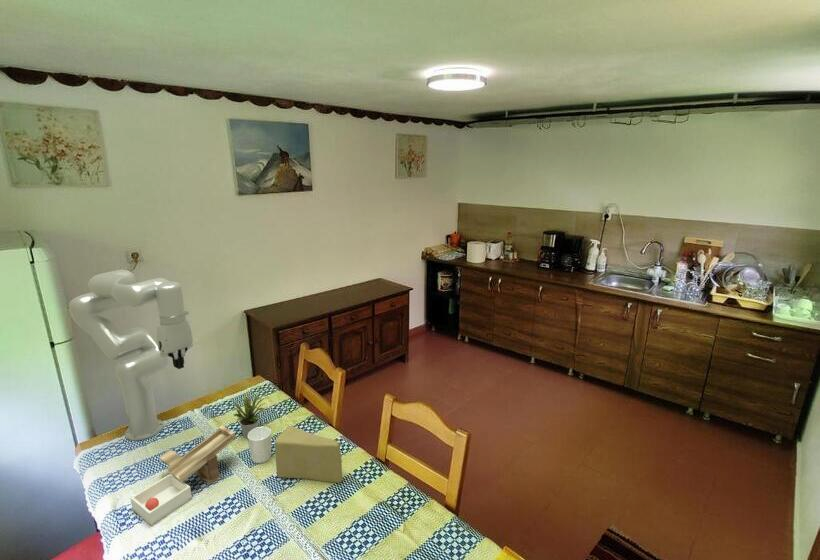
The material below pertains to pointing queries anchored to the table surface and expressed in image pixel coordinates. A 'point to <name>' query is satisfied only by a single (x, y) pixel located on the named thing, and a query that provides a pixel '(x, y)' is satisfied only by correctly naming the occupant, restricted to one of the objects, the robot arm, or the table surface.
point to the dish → (161, 498)
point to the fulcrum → (209, 470)
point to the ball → (152, 503)
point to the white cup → (260, 444)
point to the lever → (197, 454)
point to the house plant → (248, 415)
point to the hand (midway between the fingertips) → (179, 367)
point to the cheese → (307, 456)
